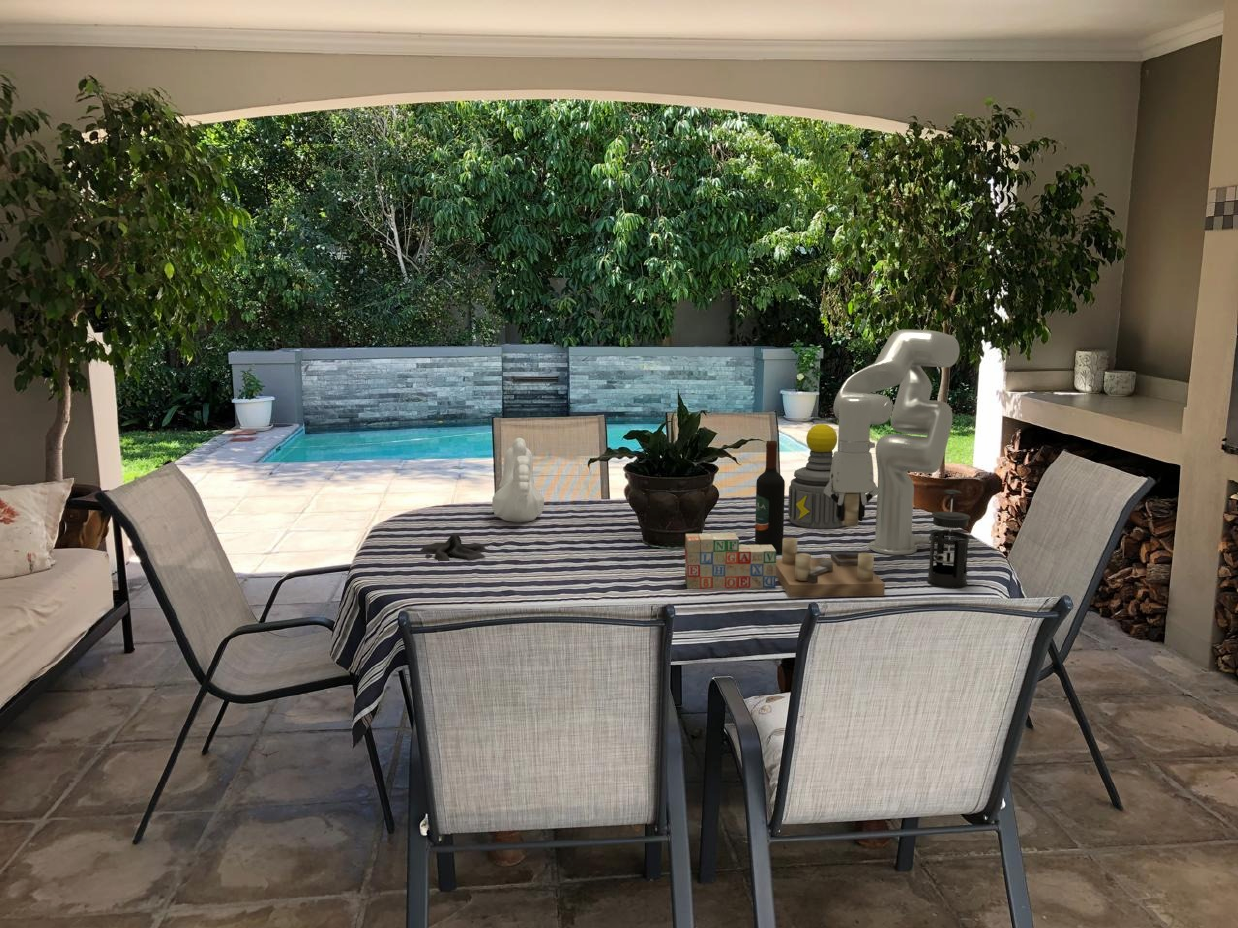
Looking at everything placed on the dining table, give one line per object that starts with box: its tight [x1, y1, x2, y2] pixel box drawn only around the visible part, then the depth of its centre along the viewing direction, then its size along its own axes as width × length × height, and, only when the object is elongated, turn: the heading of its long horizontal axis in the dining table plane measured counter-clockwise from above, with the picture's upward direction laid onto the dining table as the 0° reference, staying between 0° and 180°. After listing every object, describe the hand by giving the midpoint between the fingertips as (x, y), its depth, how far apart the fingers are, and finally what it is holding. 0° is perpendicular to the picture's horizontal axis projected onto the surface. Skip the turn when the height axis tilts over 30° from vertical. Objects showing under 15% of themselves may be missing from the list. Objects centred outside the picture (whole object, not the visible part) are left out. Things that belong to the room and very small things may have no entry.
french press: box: [926, 489, 971, 590], centre depth 255 cm, size 12×9×23 cm
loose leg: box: [842, 493, 860, 527], centre depth 262 cm, size 4×4×8 cm
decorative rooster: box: [491, 437, 545, 523], centre depth 317 cm, size 25×16×25 cm, turn 179°
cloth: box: [419, 532, 487, 562], centre depth 283 cm, size 22×19×6 cm
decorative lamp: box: [787, 423, 845, 530], centre depth 317 cm, size 19×19×30 cm
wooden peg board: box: [776, 537, 886, 598], centre depth 257 cm, size 22×22×9 cm
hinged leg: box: [795, 553, 833, 581], centre depth 253 cm, size 14×4×6 cm, turn 138°
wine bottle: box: [754, 440, 786, 555], centre depth 284 cm, size 8×8×30 cm
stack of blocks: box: [684, 532, 777, 590], centre depth 255 cm, size 21×6×12 cm, turn 91°
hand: (850, 519), depth 263 cm, fingers closed on loose leg, 4 cm apart
